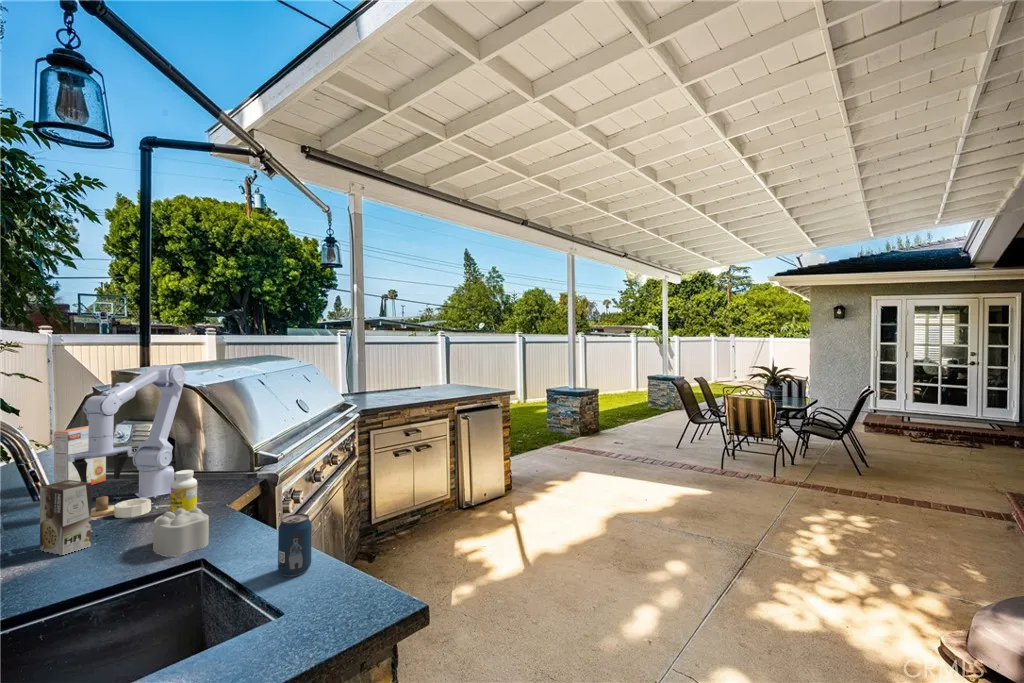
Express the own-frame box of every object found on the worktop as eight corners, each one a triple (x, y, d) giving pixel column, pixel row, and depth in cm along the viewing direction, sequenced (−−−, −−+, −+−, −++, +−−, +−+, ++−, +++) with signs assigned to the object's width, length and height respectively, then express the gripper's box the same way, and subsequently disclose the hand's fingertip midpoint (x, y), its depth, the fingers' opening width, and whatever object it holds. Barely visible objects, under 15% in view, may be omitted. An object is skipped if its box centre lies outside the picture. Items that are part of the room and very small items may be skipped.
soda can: (298, 561, 115) (299, 510, 115) (317, 568, 112) (318, 516, 112) (271, 573, 109) (271, 519, 109) (290, 580, 106) (291, 525, 106)
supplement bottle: (164, 516, 143) (165, 473, 143) (187, 509, 149) (187, 467, 150) (179, 519, 141) (180, 475, 141) (202, 512, 147) (202, 470, 147)
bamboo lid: (115, 506, 150) (115, 491, 150) (121, 512, 145) (122, 497, 145) (81, 512, 144) (81, 498, 144) (86, 519, 139) (87, 503, 139)
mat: (119, 506, 152) (119, 504, 152) (126, 513, 145) (126, 511, 145) (76, 514, 144) (76, 512, 144) (82, 523, 138) (82, 521, 138)
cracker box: (91, 480, 179) (92, 424, 179) (106, 481, 178) (107, 424, 178) (52, 492, 165) (53, 431, 165) (68, 493, 164) (68, 431, 165)
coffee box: (92, 546, 122) (93, 482, 122) (61, 557, 116) (62, 489, 116) (69, 541, 125) (70, 478, 125) (38, 551, 119) (38, 485, 119)
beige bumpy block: (169, 560, 115) (169, 523, 115) (143, 547, 122) (143, 513, 122) (214, 544, 124) (214, 510, 124) (187, 534, 131) (188, 502, 131)
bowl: (146, 507, 151) (146, 496, 151) (153, 514, 145) (154, 502, 145) (111, 515, 144) (111, 503, 144) (118, 521, 139) (118, 509, 139)
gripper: (126, 430, 153) (125, 473, 153) (65, 438, 141) (64, 484, 141) (134, 433, 149) (133, 477, 149) (72, 441, 137) (71, 489, 137)
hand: (100, 481), depth 145 cm, fingers open, 7 cm apart
